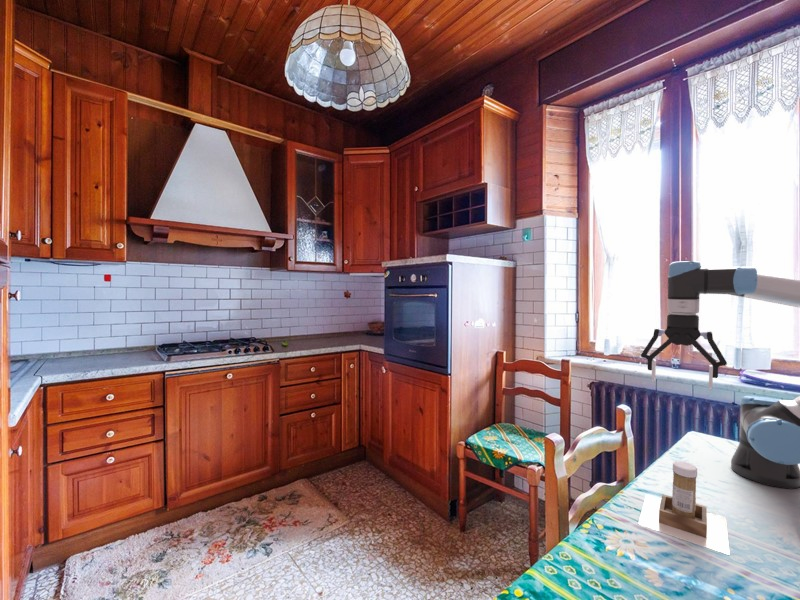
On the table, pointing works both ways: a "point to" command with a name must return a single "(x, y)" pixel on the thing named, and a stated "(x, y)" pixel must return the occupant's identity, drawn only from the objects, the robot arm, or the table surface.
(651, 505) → the tile
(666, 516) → the collar
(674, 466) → the sprinkles bottle
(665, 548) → the table surface
